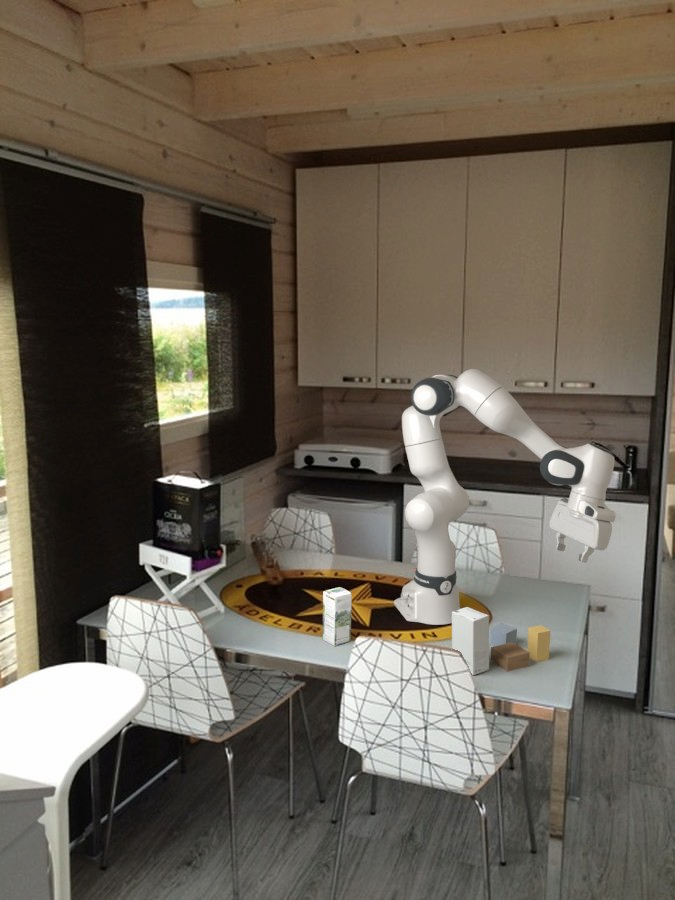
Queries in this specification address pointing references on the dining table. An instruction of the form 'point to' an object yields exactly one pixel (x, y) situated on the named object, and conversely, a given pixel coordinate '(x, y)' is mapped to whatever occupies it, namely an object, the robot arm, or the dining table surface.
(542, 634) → the ochre post
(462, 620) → the skincare box
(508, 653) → the walnut block
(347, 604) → the syrup box
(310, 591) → the dining table surface
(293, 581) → the dining table surface
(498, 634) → the slate cube
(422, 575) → the robot arm
